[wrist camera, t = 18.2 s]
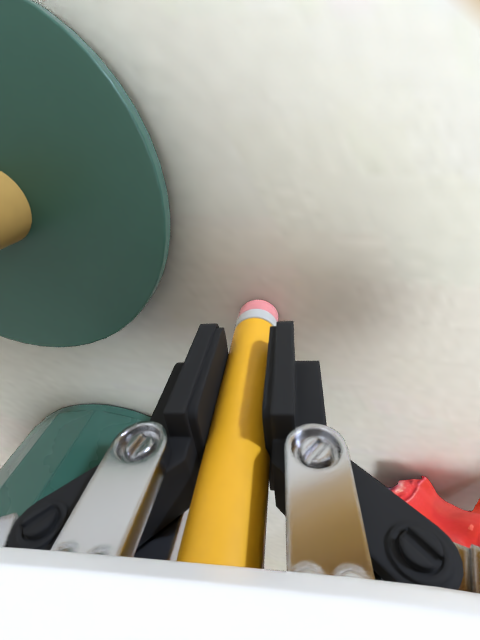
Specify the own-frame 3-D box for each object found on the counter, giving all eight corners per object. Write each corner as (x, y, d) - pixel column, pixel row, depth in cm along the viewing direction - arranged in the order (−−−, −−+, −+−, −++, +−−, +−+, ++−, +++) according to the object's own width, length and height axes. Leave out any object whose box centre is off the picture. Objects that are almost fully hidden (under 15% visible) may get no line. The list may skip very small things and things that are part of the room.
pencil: (233, 302, 14) (19, 1028, 3) (273, 294, 13) (201, 1104, 2) (244, 335, 14) (108, 1006, 4) (282, 329, 14) (256, 1059, 3)
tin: (-1, 442, 21) (-213, 681, 12) (120, 374, 17) (-76, 669, 8) (125, 534, 25) (33, 765, 16) (249, 498, 21) (217, 788, 12)
